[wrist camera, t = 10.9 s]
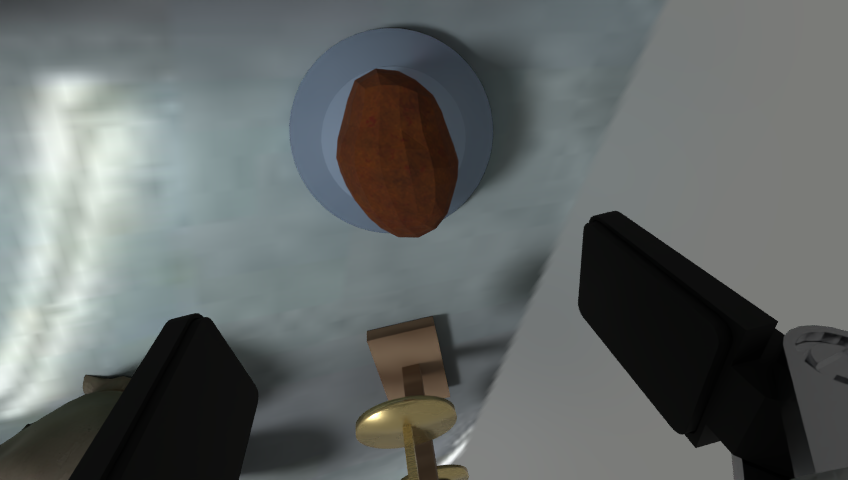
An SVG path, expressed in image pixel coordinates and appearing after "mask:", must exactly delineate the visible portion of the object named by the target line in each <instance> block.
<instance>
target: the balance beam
mask: <svg viewBox="0 0 848 480" xmlns="http://www.w3.org/2000/svg"><path fill="white" fill-rule="evenodd" d="M456 419H457V416H456V412H455V408H454V405H453V404H452V403H451V402H450V401H448V400H446V399H444V398H441V397H437V396H428V395H417V396H408V397H402V398H397V399H393V400H389V401H386V402H384V403H381V404H379V405H376V406H374V407H372V408H371V409H369V410H367V411H366V412H365V413H363V414H362V415H361V416H360V417H359V418H358V420H357V422H356V438H357V440H358V441H359V442H360V443H362V444H364V445H366V446H369V447H374V448H384V449H391V448H402V447H405V453H406V461H407V469H408V475H407V476H405V477H404V478H402V479H401V480H419V474H418V467H417V460H416V453H415V446H414V445H417V444H421V443H424V442H427V441H430V440H432V439H435V438H437V437H439V436H441V435H442V434H444V433H446V432H447V431H448V430H450V429H451V428H452V427H453V425H454V424H455V422H456ZM437 471H438V478H439V480H468V477H469V476H468V471H467V469H466V467H464V466H461V465H440V466H437Z"/></svg>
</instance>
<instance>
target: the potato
mask: <svg viewBox="0 0 848 480" xmlns="http://www.w3.org/2000/svg"><path fill="white" fill-rule="evenodd" d="M336 159H337V162H338V166H339V169H340V173H341V175H342V177H343V180H344V182H345V184H346V186H347V188H348V190H349V191H350V193H351V195H352V197H353V198H354V200H355V201H356V202H357V204H358V205H359V206H360V207H361V209H362V210H363V211H364V212H365V214H366V215H367V216H368V217H369V218H370V219H371V220H372V221H373V222H374V223H376V224H377V225H378V226H379V227H380V228H381V229H383V230H385V231H387V232H389V233H391V234H393V235H395V236H397V237H420V236H422V235H424V234H426V233H428V232H430V231H432V230H434V229H436V228H437V226H438V225H439V224H440V223H441V221H442V220H443V219H444V217H445V216H446V215H447V214H448V211H449V207H450V204H451V201H452V197H453V194H454V190H455V186H456V183H457V178H458V164H459V160H458V157H457V154H456V151H455V147H454V144H453V142H452V139H451V136H450V133H449V131H448V128H447V125H446V122H445V120H444V117H443V113H442V111H441V109H440V107H439V105H438V103H437V101H436V99H435V97H434V95H433V94H432V93H430V92H429V91H428V90H427V89H426V88H425V87H423V86H422V85H421V84H420V83H419V82H418V81H417V80H415V79H413V78H411V77H409V76H407V75H405V74H403V73H402V72H400V71H396V70H386V69H374V70H372V71H370V72H369V73H367V74H365V75H363V76H361V77H360V78H358V79H356V80H355V81H354V83H353V86H352V89H351V92H350V94H349V97H348V100H347V104H346V108H345V112H344V116H343V120H342V124H341V127H340V131H339V135H338V140H337V154H336Z"/></svg>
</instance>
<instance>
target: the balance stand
mask: <svg viewBox="0 0 848 480" xmlns="http://www.w3.org/2000/svg"><path fill="white" fill-rule="evenodd" d="M367 343H368V345H369V348H370V351H371V354H372V356H373V359H374V362H375V365H376V367H377V370H378V373H379V376H380V378H381V381H382V384H383V387H384V389H385V392H386V395H387V398H388V400H393V399H397V398H402V397H408V396H417V395H428V396H437V397H441V398H447V397H450V393H449V388H448V384H447V379H446V375H445V370H444V366H443V361H442V356H441V352H440V347H439V343H438V338H437V333H436V329H435V324H434V320H433V316H431V317H426V318H422V319H418V320H413V321H409V322H405V323H400V324H396V325H392V326H388V327H383V328H379V329H375V330H370V331H367ZM414 446H415V453H416V460H417V467H418V474H419V480H439V478H438V471H437V465H436V459H435V453H434V447H433V441H432V440H430V441H427V442H424V443H421V444H417V445H414Z"/></svg>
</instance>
